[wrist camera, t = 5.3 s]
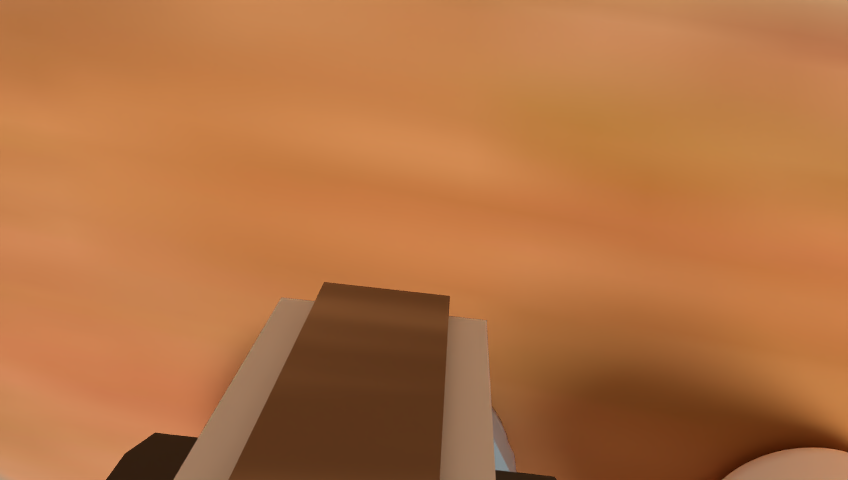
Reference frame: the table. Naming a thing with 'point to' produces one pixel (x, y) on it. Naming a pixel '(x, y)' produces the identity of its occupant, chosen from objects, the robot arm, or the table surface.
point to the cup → (795, 466)
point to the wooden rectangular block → (357, 392)
